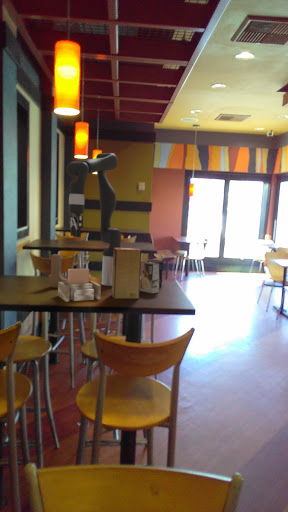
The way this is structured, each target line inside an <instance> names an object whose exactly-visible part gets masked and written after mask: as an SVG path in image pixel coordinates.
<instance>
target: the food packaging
mask: <svg viewBox="0 0 288 512" xmlns="http://www.w3.org/2000/svg"><path fill="white" fill-rule="evenodd" d="M141 260H142V250H141V249H140V248H138V247H137V248H135V247H134V248H133V247H130V248H129V247H120V248H114V251H113V274H112V286H111V296H112V299H114V300H121V299H122V300H128V299H129V300H139V299H140V285H141V263H142V261H141Z"/></svg>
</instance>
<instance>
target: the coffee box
mask: <svg viewBox="0 0 288 512" xmlns="http://www.w3.org/2000/svg"><path fill="white" fill-rule="evenodd" d="M159 277H160V264H158V263H152V262H147V261H144V262H141V266H140V286H139V292H143V293H148V294H157V293H159V291H160V287H159Z"/></svg>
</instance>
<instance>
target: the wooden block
mask: <svg viewBox="0 0 288 512" xmlns="http://www.w3.org/2000/svg"><path fill="white" fill-rule="evenodd" d="M62 255H63V254H59V253H57V254H56V253H53V254H51V257H50V259H51V260H50V288H53V289H54V288H55V289H58V282H68V278H65V277H64V276H63V274H62V264H63V263H62V262H63V261H62V259H63V258H62V257H63V256H62Z"/></svg>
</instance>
